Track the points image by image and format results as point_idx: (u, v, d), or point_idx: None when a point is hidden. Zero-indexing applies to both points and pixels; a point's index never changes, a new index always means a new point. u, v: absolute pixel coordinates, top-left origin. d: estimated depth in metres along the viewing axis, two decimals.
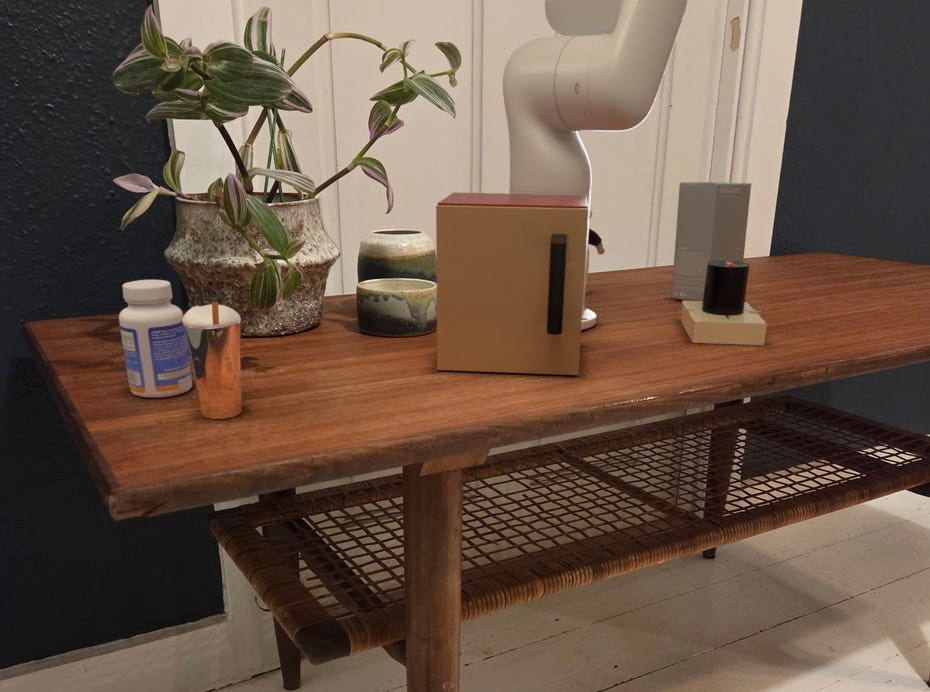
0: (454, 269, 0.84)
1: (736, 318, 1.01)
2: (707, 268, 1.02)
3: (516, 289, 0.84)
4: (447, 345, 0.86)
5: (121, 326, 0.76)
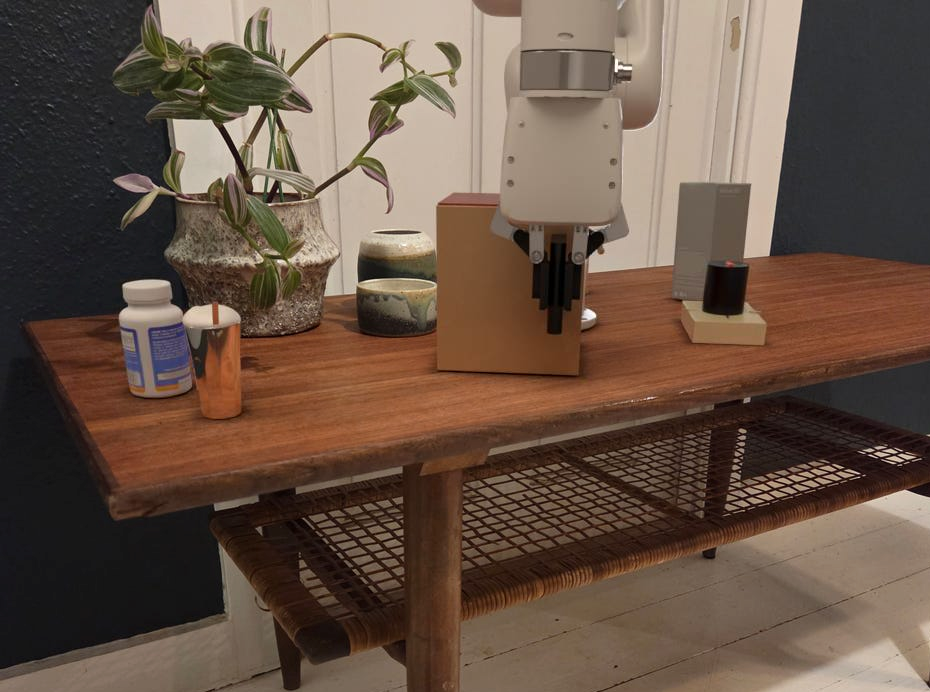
0: (454, 269, 0.84)
1: (736, 318, 1.01)
2: (707, 268, 1.02)
3: (516, 289, 0.84)
4: (447, 345, 0.86)
5: (121, 326, 0.76)
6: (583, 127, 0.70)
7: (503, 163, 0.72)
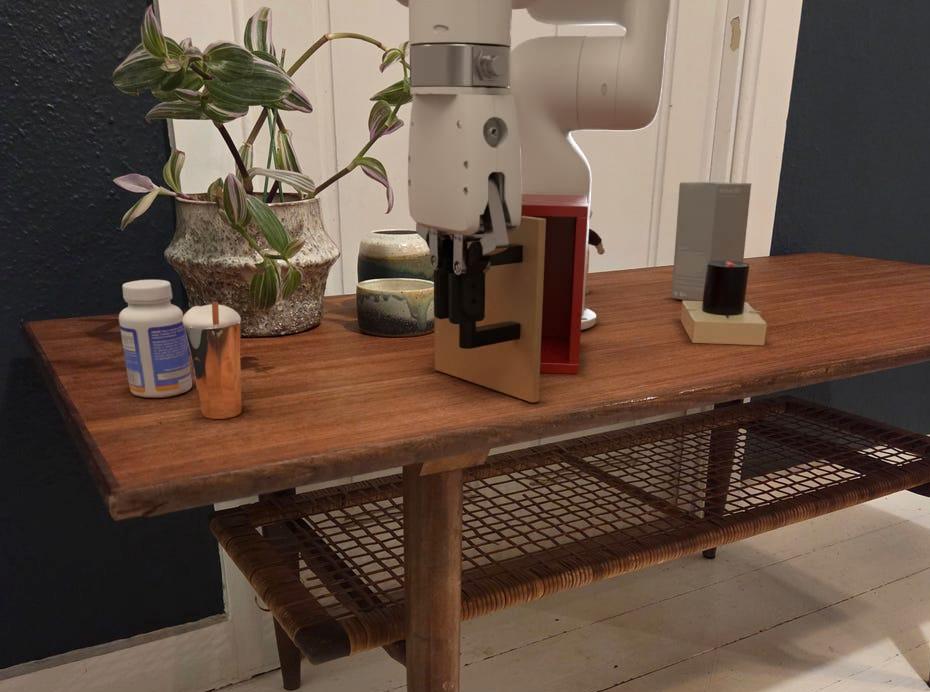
0: None
1: (736, 318, 1.01)
2: (707, 268, 1.02)
3: (486, 299, 0.79)
4: (440, 346, 0.86)
5: (121, 326, 0.76)
6: (443, 126, 0.65)
7: None
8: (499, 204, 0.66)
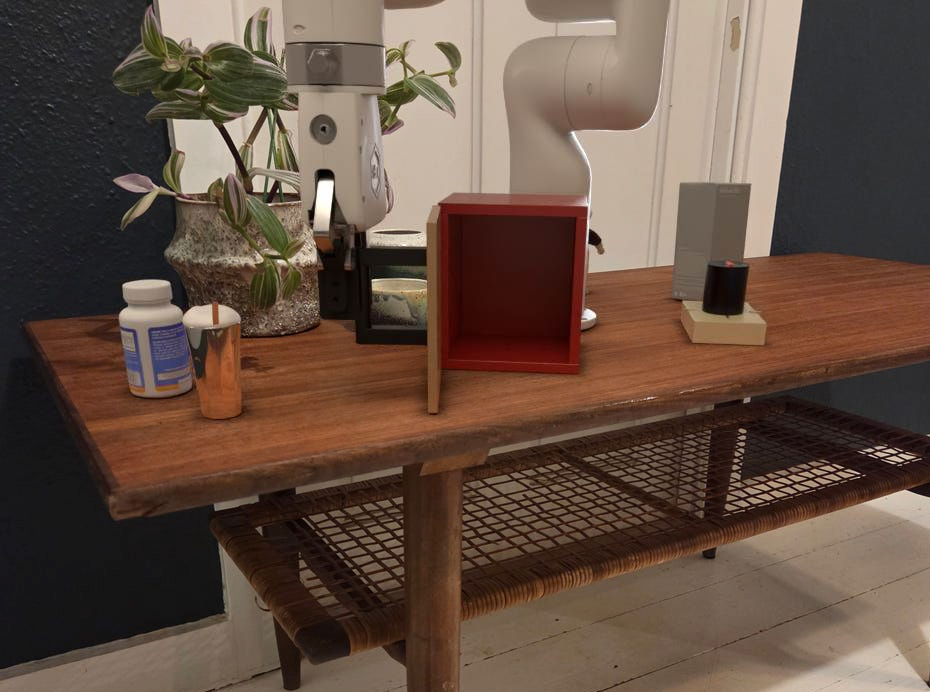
0: None
1: (736, 318, 1.01)
2: (707, 268, 1.02)
3: None
4: None
5: (121, 326, 0.76)
6: None
7: None
8: None
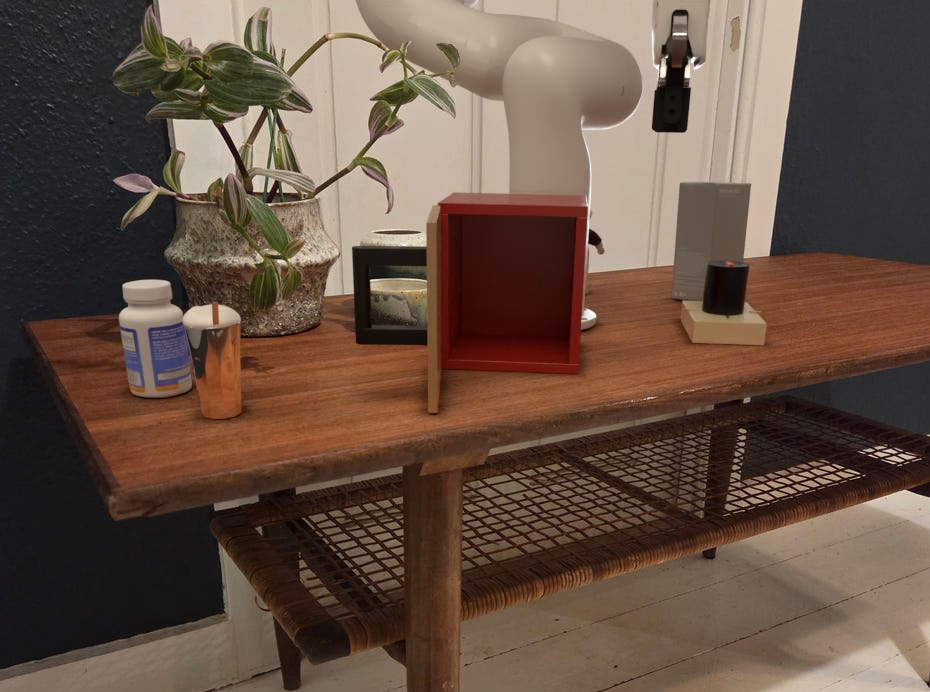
0: None
1: (736, 318, 1.01)
2: (707, 268, 1.02)
3: None
4: None
5: (121, 326, 0.76)
6: None
7: None
8: None
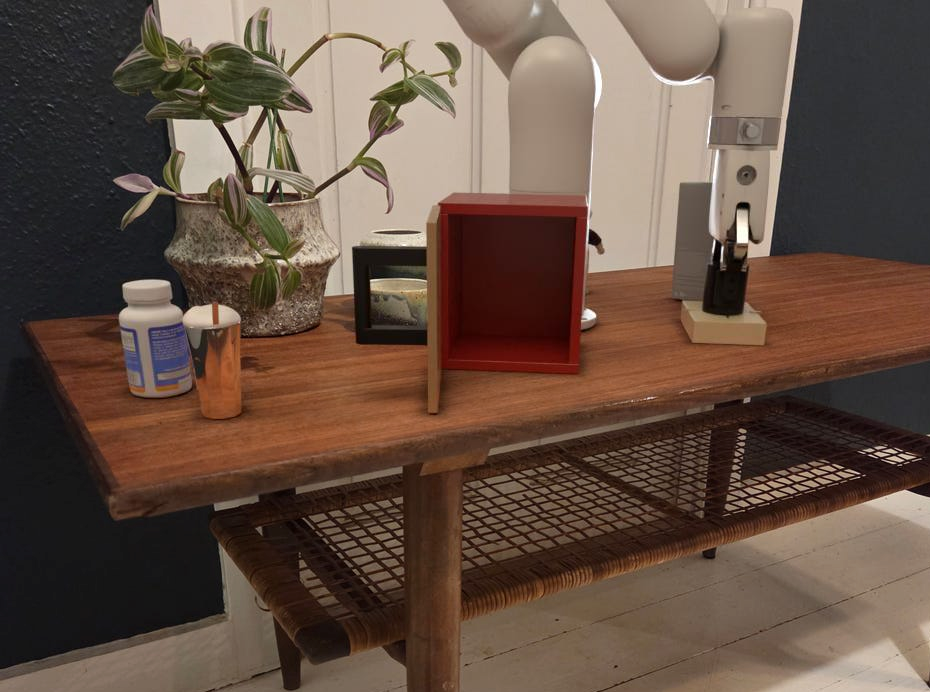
0: None
1: (736, 318, 1.01)
2: (707, 268, 1.02)
3: None
4: None
5: (121, 326, 0.76)
6: (718, 170, 0.97)
7: None
8: None
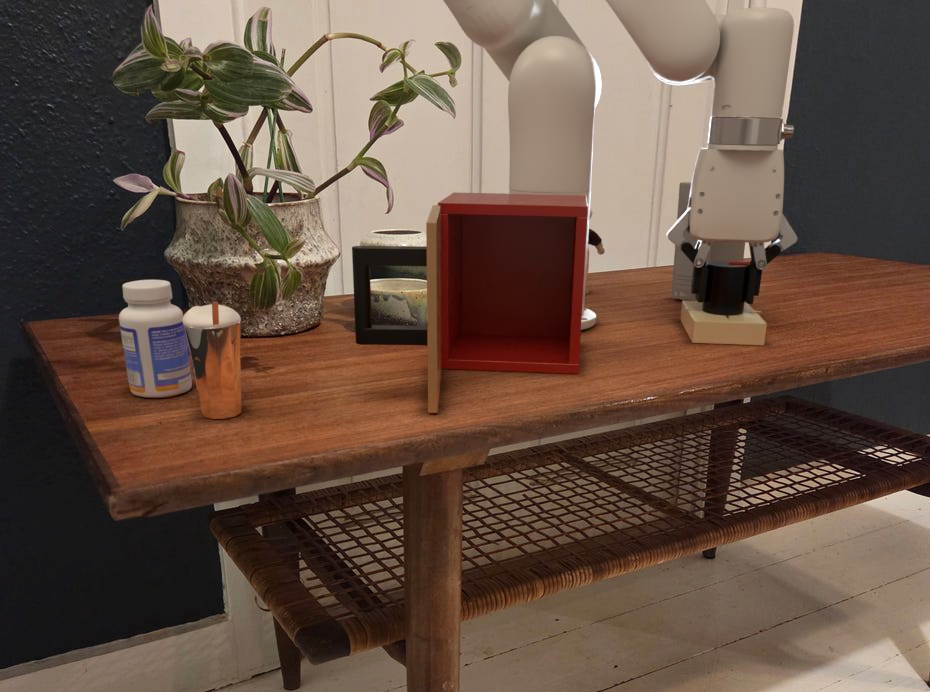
0: None
1: (736, 318, 1.01)
2: (734, 271, 1.00)
3: None
4: None
5: (121, 326, 0.76)
6: (758, 171, 0.96)
7: (695, 196, 0.98)
8: None
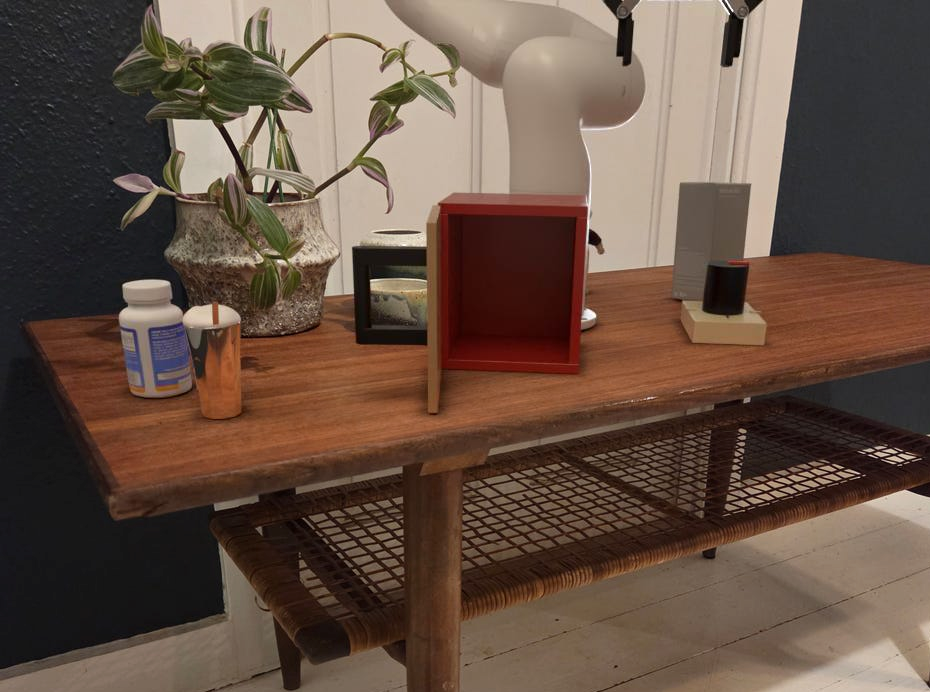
0: None
1: (736, 318, 1.01)
2: (734, 271, 1.00)
3: None
4: None
5: (121, 326, 0.76)
6: None
7: None
8: None
